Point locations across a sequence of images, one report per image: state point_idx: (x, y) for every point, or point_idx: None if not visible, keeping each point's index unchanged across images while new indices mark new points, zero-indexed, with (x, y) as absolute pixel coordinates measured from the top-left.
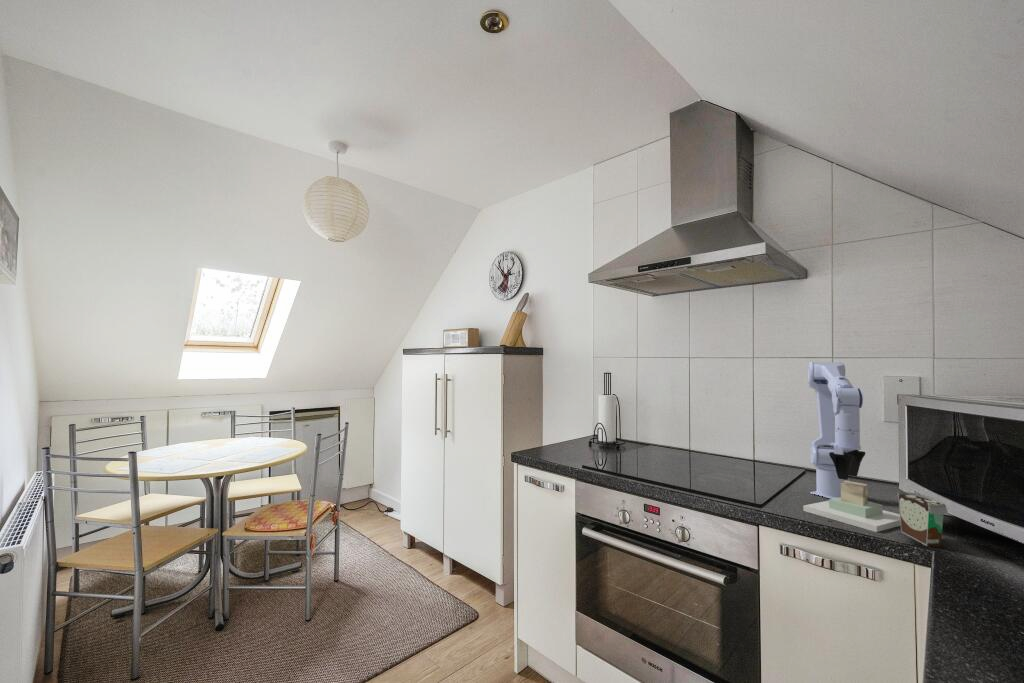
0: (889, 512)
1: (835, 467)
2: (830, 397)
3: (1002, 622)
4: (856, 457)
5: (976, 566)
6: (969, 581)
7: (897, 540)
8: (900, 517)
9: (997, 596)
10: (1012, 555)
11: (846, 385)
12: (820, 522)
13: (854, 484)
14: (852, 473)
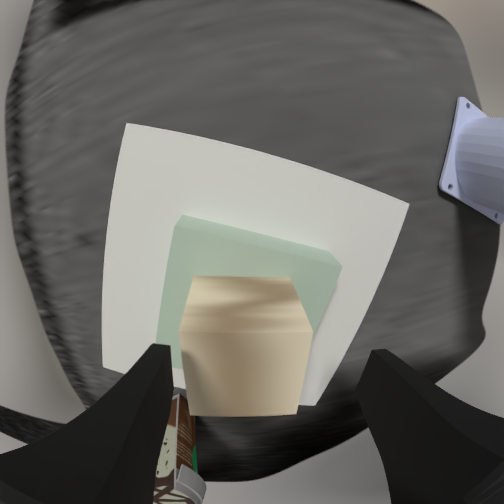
0: (326, 368)
1: (104, 396)
2: None
3: None
4: (409, 500)
5: None
6: (28, 428)
7: (95, 387)
8: (175, 423)
9: (20, 436)
10: (213, 480)
11: None
12: (46, 224)
13: (224, 385)
14: (369, 384)
